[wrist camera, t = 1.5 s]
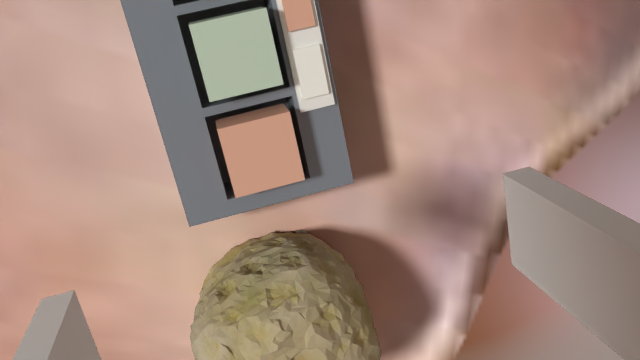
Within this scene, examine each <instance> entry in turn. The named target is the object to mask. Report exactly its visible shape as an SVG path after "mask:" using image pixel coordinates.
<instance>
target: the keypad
mask: <svg viewBox="0 0 640 360" xmlns="http://www.w3.org/2000/svg"><path fill="white" fill-rule="evenodd" d="M120 1H121V4H122V7H123V11H124V14H125V17H126V20H127V24H128V27H129V30H130V34H131V37H132V40H133V43H134V47H135V50H136V53H137V56H138V60H139V63H140V66H141V70H142V73H143V76H144V79H145V83H146V86H147V89H148V93H149V96H150V99H151V102H152V106H153V109H154V112H155V115H156V119H157V122H158V125H159V129H160V132H161V135H162V138H163V142H164V145H165V148H166V151H167V155H168V158H169V161H170V165H171V168H172V171H173V174H174V178H175V181H176V184H177V187H178V191H179V194H180V197H181V201H182V204H183V207H184V210H185V214H186V217H187V220H188V223H189V227H191V226H194V225H198V224H202V223H205V222H209V221H213V220H217V219H220V218H224V217H228V216H232V215H235V214H239V213H243V212H246V211H250V210H254V209H258V208H261V207H265V206H269V205H273V204H276V203H280V202H284V201H288V200H291V199H295V198H299V197H302V196H306V195H310V194H314V193H317V192H321V191H325V190H329V189H332V188H336V187H340V186H343V185H347V184H351V183H354V181H353V176H352V171H351V166H350V161H349V155H348V150H347V145H346V140H345V135H344V130H343V125H342V120H341V115H340V109H339V104H338V99H337V94H336V89H335V84H334V79H333V74H332V69H331V63H330V58H329V53H328V48H327V43H326V38H325V33H324V28H323V23H322V17H321V12H320V7H319V2H318V0H120ZM256 7H266V8H267V13H268V17H269V22H270V26H271V30H272V35H273V39H274V44H275V48H276V53H277V57H278V62H279V66H280V70H281V75H282V79H283V85H279V86H275V87H271V88H267V89H263V90H258V91H254V92H250V93H246V94H242V95H238V96H234V97H229V98H225V99H221V100H217V101H213V102H209V98H208V95H207V91H206V87H205V84H204V80H203V76H202V72H201V69H200V65H199V61H198V58H197V54H196V50H195V47H194V43H193V39H192V36H191V32H190V28H189V22H194V21H198V20H203V19H207V18H212V17H216V16H221V15H225V14H230V13H234V12H239V11H243V10H247V9H252V8H256ZM278 104H284V105H285V106H286V108H287V109H288V110H289V111H290V115H291V119H292V124H293V128H294V133H295V137H296V141H297V146H298V150H299V155H300V159H301V164H302V168H303V173H304V177H305V180H303V181H299V182H295V183H291V184H287V185H284V186H280V187H276V188H272V189H269V190H265V191H261V192H257V193H253V194H250V195H246V196H242V197H238V198H235V194H234V190H233V187H232V183H231V179H230V176H229V172H228V168H227V165H226V161H225V157H224V154H223V150H222V146H221V143H220V139H219V135H218V131H217V127H216V122H215V120H217V119H222V118H226V117H230V116H234V115H238V114H242V113H246V112H250V111H254V110H258V109H262V108H266V107H270V106H274V105H278Z"/></svg>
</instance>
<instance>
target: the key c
mask: <svg viewBox="0 0 640 360" xmlns="http://www.w3.org/2000/svg"><path fill="white" fill-rule="evenodd" d="M215 122H216V127H217V131H218V135H219V139H220V143H221V146H222V150H223V154H224V157H225V161H226V165H227V168H228V172H229V176H230V179H231V183H232V187H233V190H234V194H235V198H238V197H242V196H246V195H250V194H253V193H257V192H261V191H265V190H269V189H272V188H276V187H280V186H284V185H287V184H291V183H295V182H299V181H303V180H305V177H304V173H303V168H302V164H301V159H300V155H299V150H298V146H297V141H296V137H295V133H294V128H293V124H292V119H291V115H290V111H289V110H288V109H287V108H286V106H285V105H284V104H278V105H274V106H270V107H266V108H262V109H258V110H254V111H250V112H246V113H242V114H238V115H234V116H230V117H226V118H222V119H217V120H215Z"/></svg>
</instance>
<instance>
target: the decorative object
mask: <svg viewBox="0 0 640 360" xmlns="http://www.w3.org/2000/svg"><path fill="white" fill-rule="evenodd" d="M190 340H191V347H192V350H193V354H194V356H195V360H380V357H381V350H380V347H379V341H378V338H377V334H376V330H375V328H374V327H373V319H372V315H371V312H370V309H369V306H368V304H367V301H366V299H365V296H364V292H363V287H362V285H361V284H360V283H358V282H357V280H356V277H355V273H354V271H353V269H352V267H351V266H350V265H348V264H347V263H346V262H345V260H344V257H343V255H342V254H340V253H339V252H337V251H336V250H334V249H332V248H331V247H330V246H329V245H328V244H326V243H325V242H324V241H322V240H321V239H319V238H317V237H315V236H313V235H311V234H309V233H307V232H306V231H305V230H298V231H295V233H292V232H286V233H274V232H271V233H269V234H267V235H265V236H264V237H261V238H256V239H249V240H248V241H246V242H244V243H243V244H241V245H237V246H235V247H233V248H232V249H231V250H230V251H229V252H227V253H226V254H225V256H224V257H223V258H222V259H221V260H220V261H218V262H217V263H216V264H214V266H213V267H212V268H211V269H210V273H209V274H208V276H207V277H206V279H205V281H204V283H203V288H202V291H201V292H200V300H199V302H198V304H197V306H196V308H195V315H194V322H193V324H192V325H191V334H190Z"/></svg>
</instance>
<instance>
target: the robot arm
mask: <svg viewBox="0 0 640 360" xmlns="http://www.w3.org/2000/svg"><path fill="white" fill-rule="evenodd" d="M503 181H504V191H505V201H506V211H507V221H508V231H509V241H510V251H511V260H512V265H513V266H514V267H516V268H517V269H518V270H519V271H520V272H522V273H523V274H524V275H525V276H526V277H527V278H529V279H530V280H531V281H532V282H534V283H535V284H536V285H537V286H538V287H539V288H541V289H542V290H543V291H544V292H545V293H546V294H547V295H549V296H550V297H551V298H552V299H553V300H555V301H556V302H557V303H558V304H560V306H562V307H563V308H564V309H565V310H566V311H568V312H569V313H570V314H571V315H572V316H574V317H575V318H576V319H577V320H578V321H579V322H581V323H582V324H583V325H584V326H585V327H587V328H588V329H589V330H590V331H591V332H592V333H594V334H595V335H596V336H597V337H598V338H599V339H601V340H602V341H603V342H604V343H605V344H607V345H608V346H609V347H610V348H611V349H613V350H614V351H615V352H616V353H617V354H618V355H620V356H621V357H622V358H623V359H624V360H640V224H639V223H637V222H635V221H634V220H632V219H630V218H628V217H626V216H624V215H622V214H620V213H618V212H616V211H614V210H612V209H610V208H608V207H606V206H604V205H602V204H601V203H598V202H596V201H595V200H593V199H591V198H589V197H587V196H585V195H583V194H581V193H579V192H577V191H575V190H573V189H571V188H569V187H568V186H566V185H564V184H562V183H560V182H558V181H556V180H554V179H552V178H550V177H548V176H546V175H544V174H542V173H540V172H538V171H537V170H535V169H533V168H531V167H526V168H522V169H519V170H515V171H511V172H507V173H504V174H503ZM13 360H101V357H100V355H99V352H98V350H97V347H96V345H95V342H94V340H93V337H92V334H91V332H90V329H89V327H88V324H87V322H86V319H85V316H84V314H83V311H82V309H81V306H80V304H79V301H78V298H77V296H76V293H75V291H74V290H73V291H69V292H66V293H62V294H58V295H55V296H51V297H47V298H44V299H42V300H41V302H40V304H39V306H38V308H37V310H36V312H35V314H34V316H33V318H32V320H31V323H30V325H29V327H28V329H27V331H26V333H25V335H24V337H23V339H22V341H21V343H20V345H19V347H18V349H17V351H16V354H15V356H14V358H13Z"/></svg>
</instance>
